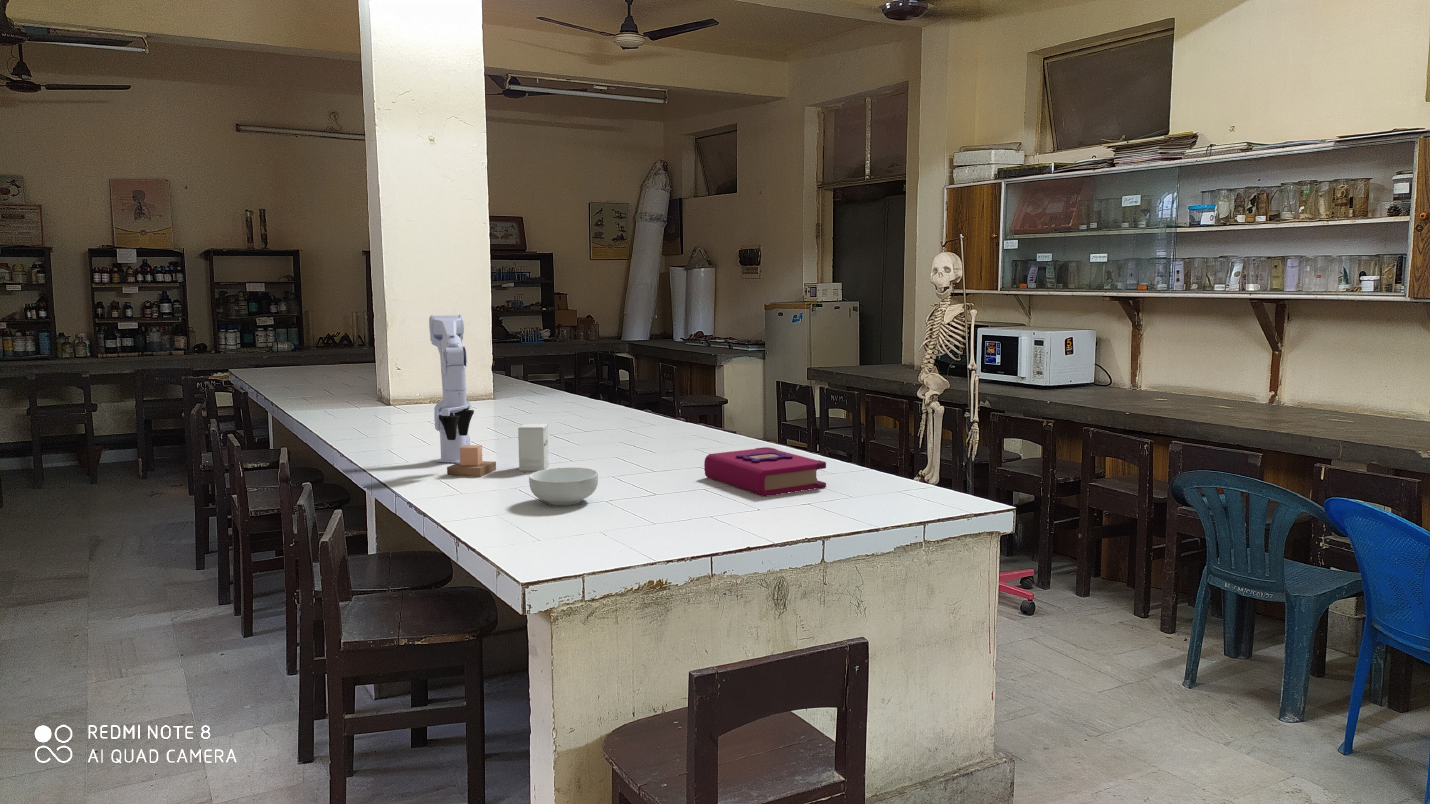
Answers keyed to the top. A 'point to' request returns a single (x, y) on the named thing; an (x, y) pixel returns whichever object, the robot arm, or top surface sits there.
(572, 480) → the cereal bowl
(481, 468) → the walnut slab
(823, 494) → the top surface
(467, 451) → the terracotta cube
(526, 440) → the supplement box
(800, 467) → the book
